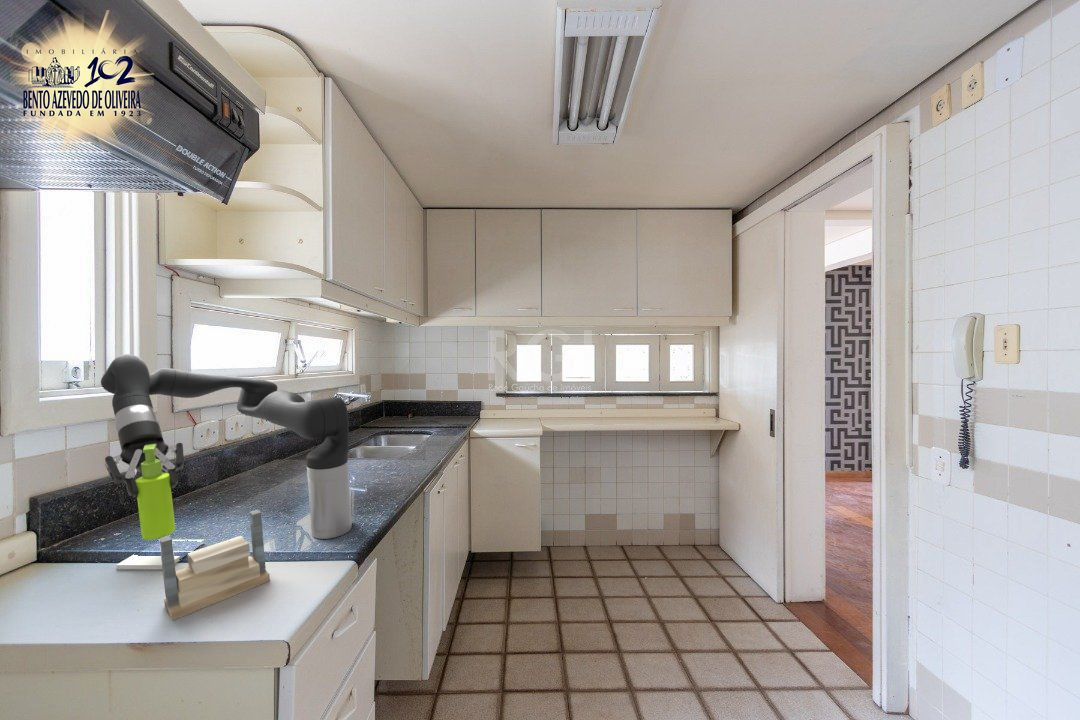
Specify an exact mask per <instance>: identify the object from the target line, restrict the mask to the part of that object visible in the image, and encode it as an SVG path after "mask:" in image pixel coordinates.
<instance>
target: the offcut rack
mask: <svg viewBox="0 0 1080 720" xmlns="http://www.w3.org/2000/svg"><path fill="white" fill-rule="evenodd" d="M248 512H249V524H250V536H251V546H252V548H251V549H250V542H249V541H247V540H246V538H244V536H243V535H239V536H236V537H232V538H230V539H227V540H224V541H221V542H216V543H214V544H211V545H208V546H205V547H202V548H198V549H196V550H195V551H193V552H190V553H188V555H187V562H188V563H187V564H188V566H187V567H184V568H181V569H178V570H176V564H175V561H174V552H173V542H172V540H173V539H172V537H171V535H167V536H165V537H162V538H158V540H159V541H160V550H161V560H162V569H161V570H162V575H163V577H162V578H163V585H164V594H165V595H164V596H165V598H164V599H163V603H164V608H165V610H166V612H167V613H169V614H168V616H169V617H170V619H171V621H174V620H177V619H179V618H182V617H184V616H187V615H189V614H191V613H195V612H197V611H200V610H201V608H202V609H204V608H206V606H207V607H209V606H211V604H212V605H214V604H217V603H220V602H221V601H224V600H227V599H229V598H230V597H233V596H235V595H239V594H240V593H243V592H246V591H248V590H251V589H254V588H256V587H258V586H261V585H263V584H265V583H269V582H270V581H271V578H270V573H269V572H268V571H267V567H266V558H265V557H266V556H265V555H266V554H265V544H264V533H263V532H264V531H263V521H262V512H261V511H260V510H259V509H255V510H252V511H248ZM250 550H252V556H251V551H250ZM196 610H197V611H196Z"/></svg>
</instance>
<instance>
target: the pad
mask: <svg viewBox="0 0 1080 720" xmlns="http://www.w3.org/2000/svg"><path fill="white" fill-rule="evenodd" d="M185 540H186V541H187V540H188V541H197V542H202V541H204V542H205V539H172V541H185ZM179 558H180V556H174V561H175V565H176V564H178V562H180V561H181V560H179ZM115 566H116V567H115V568H116V570H163V569H162V560H161V556H138V555H134V554H132V555H131V556H128V557H127V558H125V559H124V560H122V561H120V562H119V563H117V564H116V565H115Z"/></svg>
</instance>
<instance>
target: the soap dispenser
mask: <svg viewBox="0 0 1080 720" xmlns="http://www.w3.org/2000/svg"><path fill="white" fill-rule="evenodd" d="M156 446H157V444H150V445H145V446H144V449H143V453H144V452H145V459H146V460H145V461H144V462H142V463H141V469H140V470H141V476H140V477H138V478H135V482H136V486H137V490H138V497H136V500H137V508H138V517H139V524H140V525H139V526H140V533H141V538H142V539H143V540H146V541H150V540H159V539H160V538H164V537H167V536H171V535H172V534H173V533H175V531H176V523H175V521H176V520H175V512H174V504H173V503H174V502H173V494H172V489H171V483H170V474H169V473H167V472H163V469H162V467H161V460H159V459H156V458H155V448H156Z"/></svg>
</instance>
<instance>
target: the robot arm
mask: <svg viewBox="0 0 1080 720" xmlns="http://www.w3.org/2000/svg"><path fill="white" fill-rule="evenodd" d="M100 385H101V387H102V388H103V389H104V390H105V391H106V392H108V393H110V394H113V396H112V400H111V403H112V404H111V405H112V410H113V414H114V419H115V430H116V433H117V436H118V437H117V438H118V441H119V444H120V450H121V453H120V454H119V455H116V456H112V455H107V456H106V457H105V459H104V467H105V468H106V470H107V472H108V475H109V476H110V478H111V480H112V482H113V484H114V485H119V484H124V485H125V486H126V490H127V494H128V496H129V497H132V498H133V499H134V498H137V497H138V490H137V486H136V482H135V480H136V478H135V476H136V474H137V472H138V470H142V469H141V463H142V462H144V461H145V460H146V459H145V452H144V453H143V449H144V446H145V445H150V444H157V446H156V448H155V458H156V459H159V460H161V467H162V471H165V473H169V474H170V483H171V490H172V489H175V488H176V486H177V485H178V484H179V477H178V473H177V472H178V471H182V470H183V468H184V465H185V458H184V457H185V456H184V444H183V443H182V442H178V443H176V445H168V444H166V442H165V440H164V437H163V434H162V431H161V427H160V426H161V425H160V420H159V418H158V416H157V414H156V412H155V410H154V406H153V403H152V400H151V396H153V395H162V396H169V397H176V398H181V399H182V398H185V399H194V398H199V397H203V396H206V395H209V394H211V393H215V392H217V391H221V390H225V389H230V388H240V392H239V396H238V400H237V403H236V409H237V411H238V412H240V414H242V415H245V416H247V417H251V418H257V419H262V420H265V421H267V422H269V423H271V424H273V425H277V426H280V427H284V428H286V429H289V430H290V431H292V432H293V433H295V434H296V435H298V436H300V437H302V438H303V439H306V440H318V439H322V438H325V439H324V440H323V442H322V443H321V444H320V445H318V446H317V447H316V448H314V449H312V450H311V451H309V452H308V453H307V455H306V458H305V459H306V461H305V462H306V475H307V476H306V477H307V489H308V490H307V491H308V501H309V502H308V503H309V504H308V505H309V516H310V519H309V520H310V530H311V532H310V533H311V536H312V537H313V538H315V539H322V540H325V539H334V538H337V537H340V536H343V535H345V534H347V533H349V532H350V531H351V530H352V529H353V528H352V527H353V525H352V508H351V507H352V505H351V491H350V473H349V460H348V459H349V457H348V456H349V449H350V445H349V444H350V441H349V439H350V436H349V434H350V433H349V431H350V429H349V428H350V427H349V426H350V425H349V423H350V421H349V412H348V408H347V405H346V403H345V401H344V399H342V398H341V397H339V396H332V397H325V398H321V399H313V400H305V399H304V397H302V396H301V395H300V394H298V393H296V392H292V391H287V390H278V385H277V384H276V383H274V382H272V381H268V380H265V379H261V378H260V379H259V378H252V377H251V378H250V377H243V376H241V377H240V376H233V375H223V374H221V375H220V374H206V373H198V372H192V371H186V370H180V369H175V368H170V367H162V368H161V367H160V368H159V369H157V370H156V371H154V372H153V373H151V374H150V369H149V367H148V365H147V363H146V361H144V360H143V358H140V357H139V356H137V355H135V354H130V353H129V354H121V355H119V356H116V357H115V358H114V359H113V360H112V361H111V363H110V364H109V366H108V368H106V370H105V372H104V373H103V375H102V377H101V379H100ZM168 452H170V453H171V454H172V455H173V456H175V461H176V462H175V463H173V462H171V461H170V459H169V457H167V456H166V455H167V454H168ZM120 462H123V463H125V464H127V465H128V469H127V470H126V473H125V474H121V472H120V471H119V470H120V469H119V468H118V466H120Z"/></svg>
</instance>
